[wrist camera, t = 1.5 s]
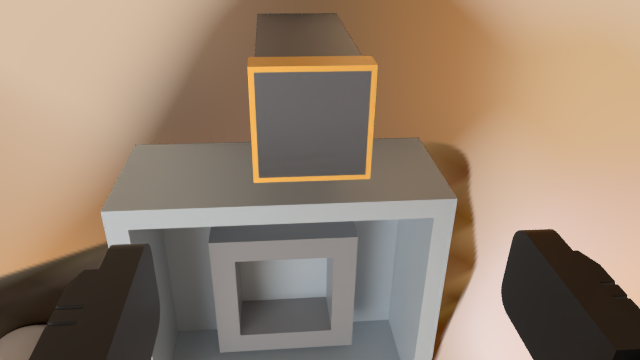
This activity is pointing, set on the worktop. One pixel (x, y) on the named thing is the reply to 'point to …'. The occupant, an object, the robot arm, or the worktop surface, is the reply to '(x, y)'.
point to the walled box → (288, 253)
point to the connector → (310, 100)
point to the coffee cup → (20, 342)
